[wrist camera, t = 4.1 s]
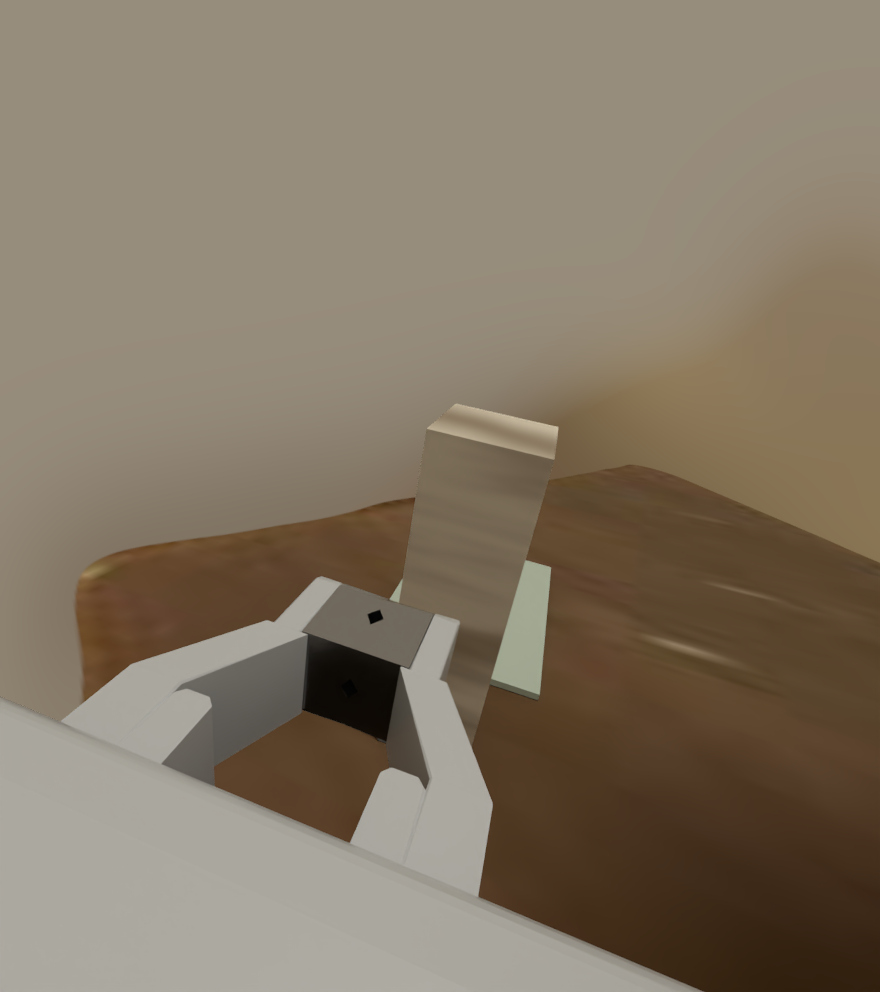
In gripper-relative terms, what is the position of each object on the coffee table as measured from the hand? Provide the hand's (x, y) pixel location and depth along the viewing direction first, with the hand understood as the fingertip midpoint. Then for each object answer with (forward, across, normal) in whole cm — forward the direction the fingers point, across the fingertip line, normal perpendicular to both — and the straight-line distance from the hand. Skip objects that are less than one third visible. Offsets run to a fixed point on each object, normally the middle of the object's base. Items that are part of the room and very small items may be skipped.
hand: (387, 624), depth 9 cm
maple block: (+12, 0, +17) cm, 21 cm away
